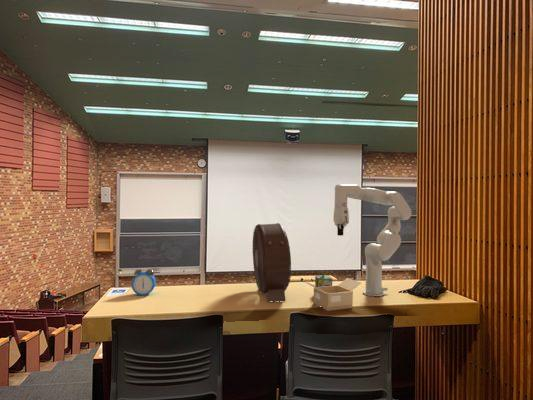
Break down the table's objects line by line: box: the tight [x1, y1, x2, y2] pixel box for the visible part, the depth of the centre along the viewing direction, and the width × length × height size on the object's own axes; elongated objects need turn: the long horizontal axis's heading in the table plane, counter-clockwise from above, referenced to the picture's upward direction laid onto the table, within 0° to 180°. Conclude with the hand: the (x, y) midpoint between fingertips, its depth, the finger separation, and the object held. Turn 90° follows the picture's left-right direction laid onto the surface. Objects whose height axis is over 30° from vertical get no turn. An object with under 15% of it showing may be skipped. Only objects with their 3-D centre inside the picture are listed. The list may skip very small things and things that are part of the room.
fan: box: [252, 222, 292, 303], centre depth 213 cm, size 41×18×44 cm, turn 11°
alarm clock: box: [130, 268, 157, 296], centre depth 208 cm, size 13×6×15 cm, turn 98°
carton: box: [313, 284, 354, 312], centre depth 192 cm, size 16×15×9 cm
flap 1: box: [305, 281, 327, 293], centre depth 188 cm, size 7×13×1 cm, turn 23°
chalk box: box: [314, 270, 333, 287], centre depth 212 cm, size 9×9×15 cm
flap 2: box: [338, 277, 362, 291], centre depth 197 cm, size 7×13×1 cm
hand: (340, 235), depth 211 cm, fingers closed
